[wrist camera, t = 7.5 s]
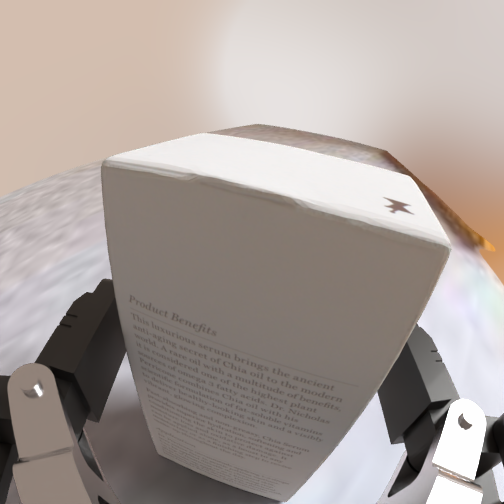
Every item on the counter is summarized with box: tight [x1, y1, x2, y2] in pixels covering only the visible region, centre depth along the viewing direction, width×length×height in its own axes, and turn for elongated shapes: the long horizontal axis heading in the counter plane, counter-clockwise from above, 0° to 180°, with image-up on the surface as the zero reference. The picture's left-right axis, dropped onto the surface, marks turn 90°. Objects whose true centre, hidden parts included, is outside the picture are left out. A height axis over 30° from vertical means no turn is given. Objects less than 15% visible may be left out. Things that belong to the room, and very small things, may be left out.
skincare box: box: [101, 133, 452, 502], centre depth 9 cm, size 6×4×12 cm
